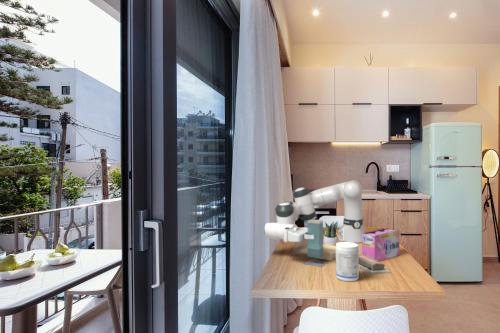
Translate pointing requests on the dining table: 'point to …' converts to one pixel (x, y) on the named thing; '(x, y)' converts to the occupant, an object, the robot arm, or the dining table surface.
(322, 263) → the coaster
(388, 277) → the dining table surface
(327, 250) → the beige square bowl
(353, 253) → the supplement tub
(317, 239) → the tea tin
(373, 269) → the grey layered block
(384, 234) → the gum box
